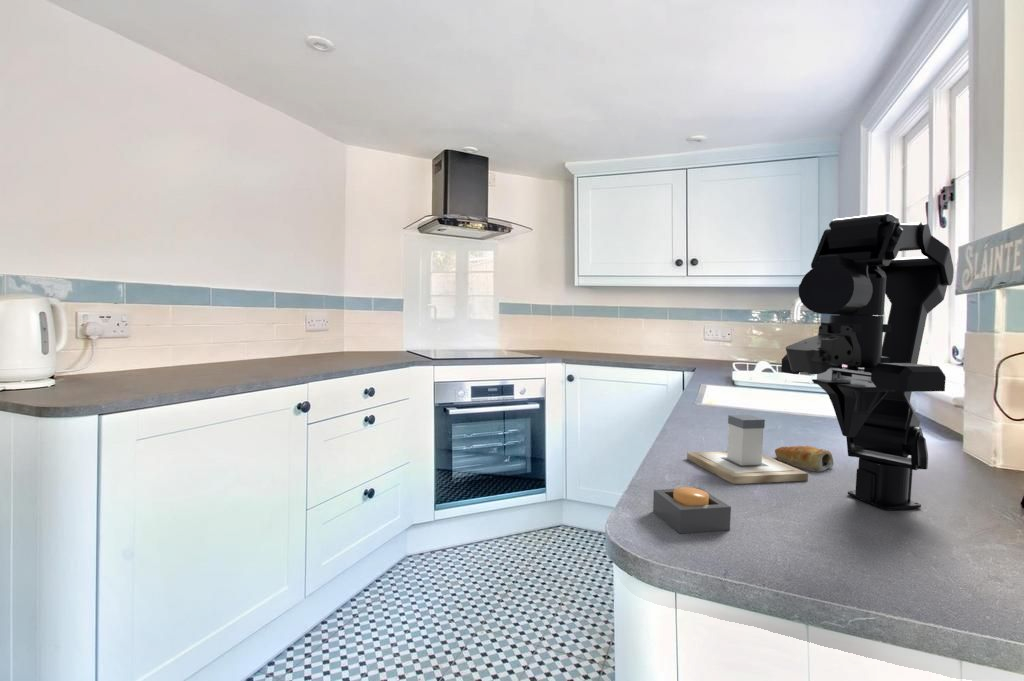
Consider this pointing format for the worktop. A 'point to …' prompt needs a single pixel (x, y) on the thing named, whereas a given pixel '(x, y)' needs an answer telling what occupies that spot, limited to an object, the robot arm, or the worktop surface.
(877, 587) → the worktop surface
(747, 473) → the picture frame
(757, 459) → the two-tone grey block
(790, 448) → the pastry
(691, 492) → the button
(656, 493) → the button housing
